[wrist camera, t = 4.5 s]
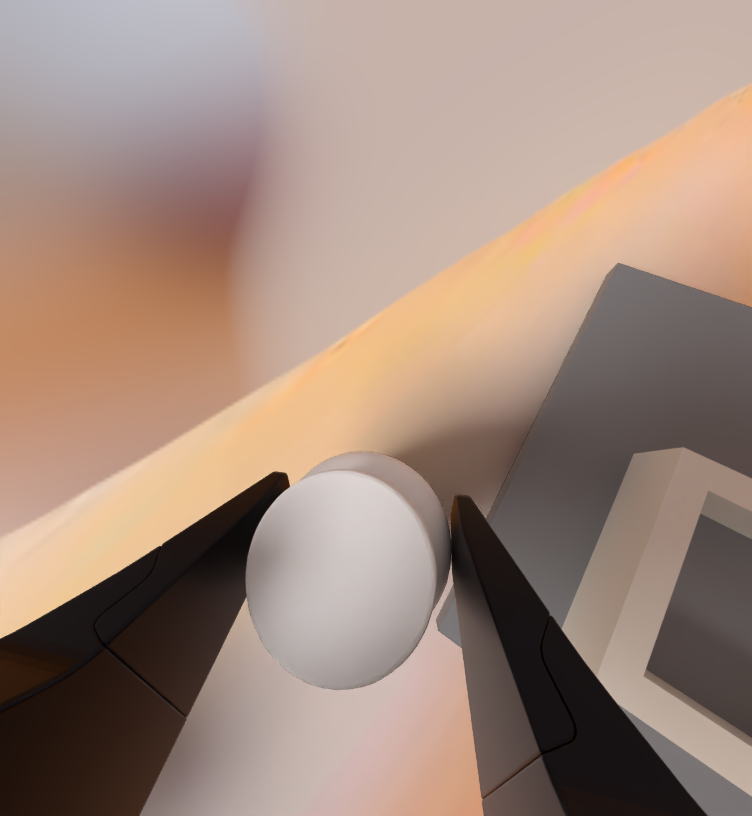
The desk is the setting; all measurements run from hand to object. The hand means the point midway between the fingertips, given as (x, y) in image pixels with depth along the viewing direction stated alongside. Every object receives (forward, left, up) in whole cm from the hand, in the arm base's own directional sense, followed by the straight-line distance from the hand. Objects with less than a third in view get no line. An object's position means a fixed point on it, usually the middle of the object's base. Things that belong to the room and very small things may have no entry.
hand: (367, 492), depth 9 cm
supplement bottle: (-1, +1, -7) cm, 7 cm away
